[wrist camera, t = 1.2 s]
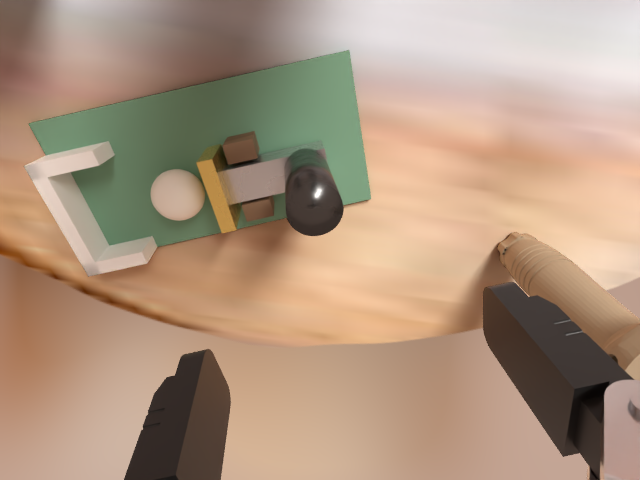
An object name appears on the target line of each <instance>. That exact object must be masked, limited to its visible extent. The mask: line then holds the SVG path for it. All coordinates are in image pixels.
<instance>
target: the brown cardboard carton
mask: <svg viewBox="0 0 640 480" xmlns="http://www.w3.org/2000/svg"><path fill="white" fill-rule="evenodd" d="M222 146H223V150H224V153H225V156H226V159H227V162H228V165H230V164H234V163H239V162H243V161H248V160H252V159H256V158H258V154H259V145H258V141H257V138H256V134H255V131H252V132H248V133H243V134H239V135H234V136H230V137H227V138H226V140H225V142H224V144H223V145H222ZM274 203H275V202H274V199H273V195H271V196H267V197H262V198H258V199H253V200H249V201H244V202H242V208H243V211H244V214H245V218H246V221H247V222H249V221H253V220H258V219H262V218H267V217H271V216H274Z"/></svg>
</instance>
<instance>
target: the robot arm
mask: <svg viewBox="0 0 640 480" xmlns="http://www.w3.org/2000/svg"><path fill="white" fill-rule="evenodd" d="M483 330H484V335H485V338H486V341H487V343H488V346H489V348H490V349H491V351H492V352H493V354H494V355H495V357H496V358H497V360H498V361H499V363H500V364H501V366H502V367H503V369H504V370H505V371H506V373H507V375H508V376H509V377H510V379H511V380H512V382H513V383H514V385H515V386H516V388H517V389H518V391H519V392H520V394H521V395H522V397H523V398H524V400H525V401H526V403H527V404H528V406H529V407H530V409H531V410H532V412H533V413H534V414H535V416H536V417H537V419H538V420H539V422H540V423H541V425H542V426H543V428H544V429H545V431H546V432H547V434H548V435H549V437H550V438H551V440H552V441H553V443H554V444H555V445H556V447H557V448H558V450H559V451H560V453H561V454H562V456H563V457H564V456H568V455H573V454H577V453H580V454H581V455H582V457H583V458H584V459H585V461H586V462H587V464H588V469H587V480H640V381H639V380H634V379H633V378H632V377H631V376H630V375H629V374H628V373H627V372H626V371H624V370H623V369H622V368H621V367H620V366H619V365H618V364H617V363H616V362H615V361H614V360H613V359H612V358H611V357H610V356H609V355H608V354H607V353H606V352H605V351H604V350H603V349H602V348H601V347H600V346H599V345H598V344H597V343H595V342H594V341H593V340H592V339H591V338H590V337H589V336H588V335H587V334H586V333H583V331H582V329H581V328H580V327H579V326H578V325H577V324H576V323H575V322H574V321H571V318H570V317H569V316H567V315H566V314H565V313H564V312H563V311H562V310H561V309H560V308H559V307H558V306H557V305H556V304H554V303H552V302H550V301H548V300H546V299H544V298H542V297H540V296H538V295H536V296H531V297H528V296H527V295H526V294H525V293H524V291H523V290H522V289H521V288H520V287H519V286H518V285H517V284H516V283H514V282H508V283H503V284H499V285H495V286H490V287H486V288H485V289H484V292H483ZM230 402H231V401H230V392H229V387H228V384H227V382H226V380H225V378H224V376H223V374H222V372H221V369H220V367H219V365H218V363H217V361H216V359H215V357H214V354H213V353H212V351H211V350H209V349H207V350H202V351H198V352H193V353H189V354H184V355H183V356H182V357H181V359H180V361H179V364H178V368H177V371H176V374H175V376H171V377H167V378H166V379H165V380H164V382H163V383H162V384H161V386H160V387H159V388H158V390H157V391H156V392H155V394H154V396H153V399H152V402H151V405H150V407H149V410H148V415H147V416H146V419H145V422H144V424H143V430H142V431H141V433H140V436H139V439H138V441H137V444H136V447H135V450H134V453H133V456H132V458H131V461H130V464H129V467H128V470H127V473H126V475H125V478H124V480H221V472H222V464H223V457H224V450H225V442H226V435H227V427H228V420H229V413H230Z"/></svg>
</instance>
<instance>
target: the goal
mask: <svg viewBox="0 0 640 480" xmlns="http://www.w3.org/2000/svg"><path fill="white" fill-rule="evenodd" d="M114 155H115V154H114V152H113V150H112V148H111V145H110V143H109V141H107V142H103V143H98V144H94V145H89V146H85V147H81V148H76V149H72V150H67V151H63V152H59V153H54V154H50V155H46V156H44V157H41V158H39V159H37V160H35V161H33V162H31V163H29V164H27V165H25V166H24V168H25V169H26V171H27V173H28V174H29V176H30V178H31V179H32V181H33V183H34V185H35V186H36V188H37V190H38V191H39V193H40V195H41V197H42V198H43V200H44V202H45V203H46V205H47V207H48V208H49V210H50V212H51V214H52V215H53V217H54V219H55V220H56V222H57V224H58V225H59V227H60V229H61V231H62V232H63V234H64V236H65V237H66V239H67V241H68V243H69V244H70V246H71V248H72V249H73V251H74V253H75V254H76V256H77V258H78V260H79V261H80V263H81V265H82V266H83V268H84V270H85V272H86V273H87V275H88V277H89V276H93V275H98V274H102V273H107V272H111V271H116V270H120V269H125V268H129V267H134V266H138V265H143V264H147V263H148V262H149V260H150V258H151V257H152V255H153V253H154V252H155V250H156V248H157V245H156V243H155V240H154V238H153V236H150V237H146V238H141V239H137V240H132V241H128V242H124V243H119V244H115V245H110V246H109V244H108V242H107V240H106V238H105V237H104V235H103V233H102V231H101V229H100V227H99V225H98V223H97V221H96V220H95V218H94V216H93V214H92V212H91V210H90V208H89V206H88V204H87V203H86V201H85V199H84V197H83V195H82V193H81V191H80V189H79V188H78V186H77V184H76V182H75V180H74V178H73V176H72V174H71V172H73V171H77V170H82V169H86V168H90V167H95V166H99V165H101V164H102V163H104V162H105V161H107V160H108V159H110V158H111V157H113V156H114Z"/></svg>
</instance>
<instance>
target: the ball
mask: <svg viewBox="0 0 640 480" xmlns="http://www.w3.org/2000/svg"><path fill="white" fill-rule="evenodd" d="M150 194H151V201H152V204H153V206H154V207H155V209H156V210H157V211H158V212H159V213H160V214H161V215H162V216H164V217H166V218H168V219H171V220H177V221H181V220H186V219H189V218H192V217H193V216H195V215H196V214H197V213H198V212H199V211H200V210H201V208H202V207H203V204H204V201H205V191H204V187H203V185H202V183H201V182H200V180H199V179H198V178H197V177H196V176H195V175H194V174H192V173H190V172H188V171H185V170H181V169H172V170H168V171H165V172H163V173H162V174H160V175H159V176H158V177H157V178H156V179H155V181H154V182H153V184H152V187H151V193H150Z"/></svg>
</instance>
